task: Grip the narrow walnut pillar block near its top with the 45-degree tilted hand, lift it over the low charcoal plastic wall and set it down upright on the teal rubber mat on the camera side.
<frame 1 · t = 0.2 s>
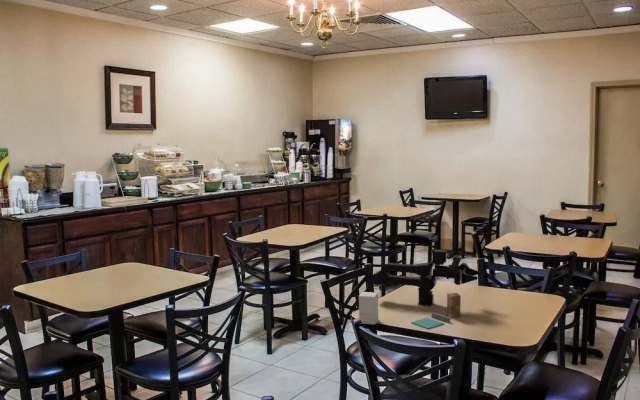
hand: (478, 275, 255), 16 cm above the table, tool horizontal, fingers open, 9 cm apart
walnut pillar: (453, 315, 247), on the table
supplement box: (368, 322, 241), on the table
low wall: (440, 319, 242), on the table
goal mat: (427, 323, 237), on the table
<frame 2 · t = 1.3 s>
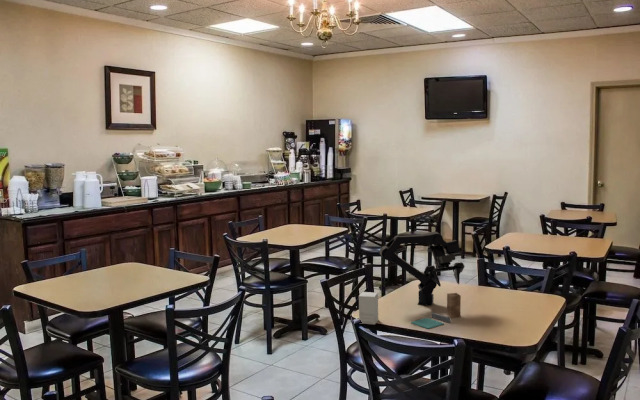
hand: (449, 285, 254), 12 cm above the table, tool tilted 45°, fingers open, 9 cm apart
nothing on the table moved.
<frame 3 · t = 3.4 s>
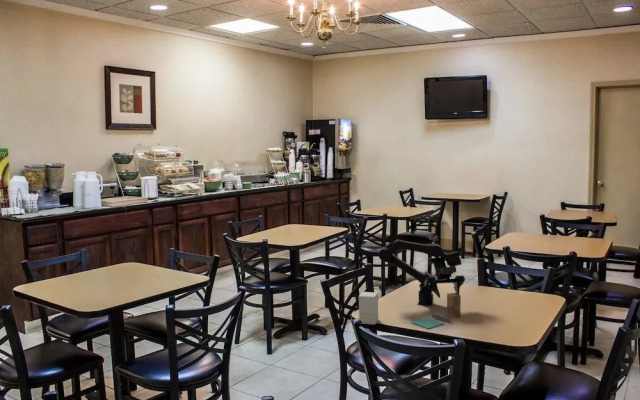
hand: (449, 297, 253), 7 cm above the table, tool tilted 45°, fingers open, 9 cm apart
nothing on the table moved.
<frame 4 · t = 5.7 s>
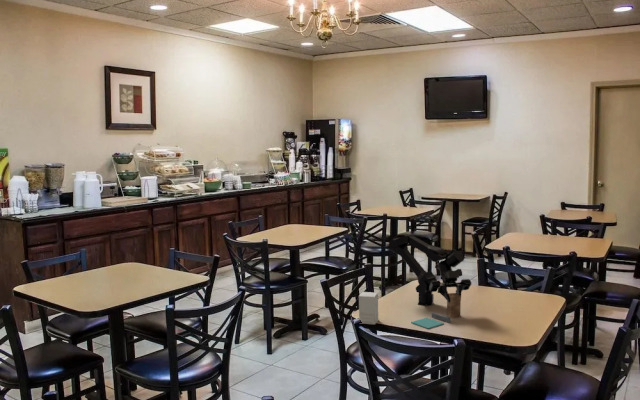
hand: (454, 301, 245), 7 cm above the table, tool tilted 45°, fingers closed on walnut pillar, 5 cm apart
walnut pillar: (453, 315, 247), on the table, touching gripper
everything else where it was.
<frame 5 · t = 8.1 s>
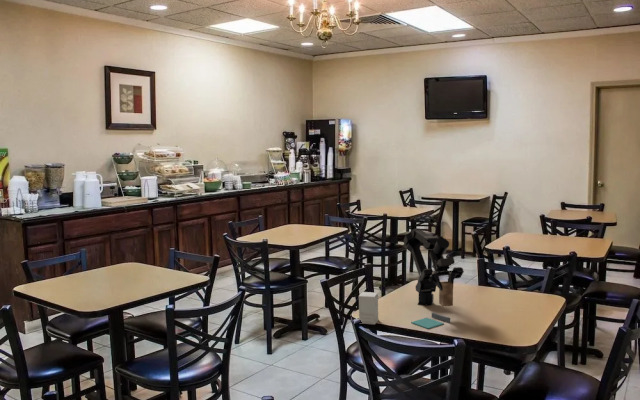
hand: (447, 289, 241), 14 cm above the table, tool tilted 45°, fingers closed on walnut pillar, 5 cm apart
walnut pillar: (445, 304, 243), point 6 cm above the table, touching gripper
everything else where it was.
when the fingers open (9 cm above the table, at t = 10.6 s): walnut pillar stays where it is, resting on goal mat.
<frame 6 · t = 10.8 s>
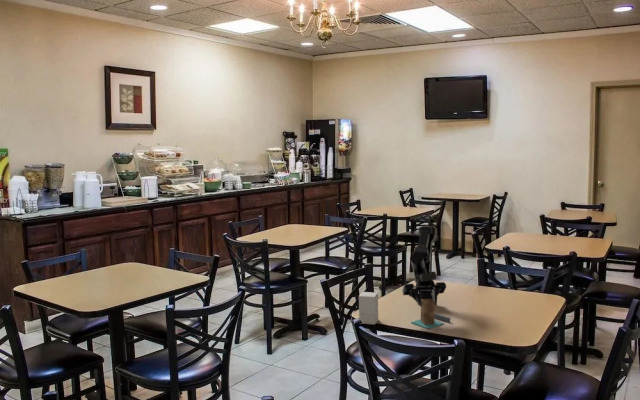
hand: (428, 305, 234), 9 cm above the table, tool tilted 45°, fingers open, 6 cm apart
walnut pillar: (427, 322, 237), point 1 cm above the table, touching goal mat
everything else where it was.
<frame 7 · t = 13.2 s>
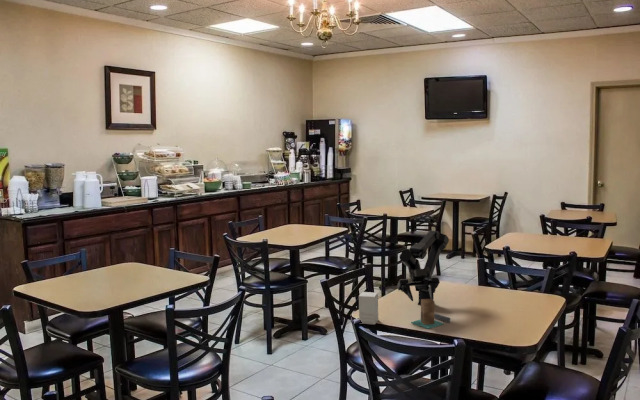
hand: (422, 300, 243), 9 cm above the table, tool tilted 45°, fingers open, 9 cm apart
nothing on the table moved.
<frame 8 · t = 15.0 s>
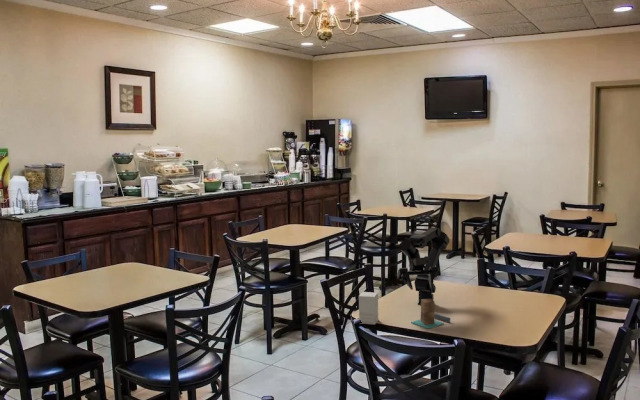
hand: (422, 289, 243), 14 cm above the table, tool tilted 45°, fingers open, 9 cm apart
nothing on the table moved.
at the end: walnut pillar inside the target area on the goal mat (0.1 cm from its centre), point 0.5 cm above the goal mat's base; walnut pillar tilted 0°; the gripper is holding nothing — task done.
